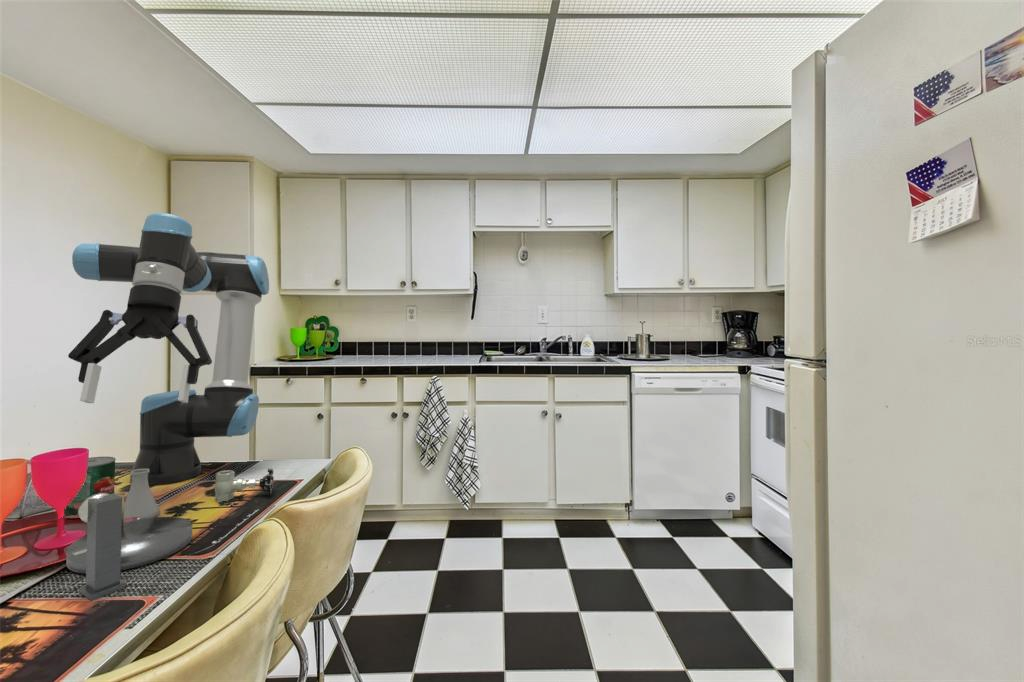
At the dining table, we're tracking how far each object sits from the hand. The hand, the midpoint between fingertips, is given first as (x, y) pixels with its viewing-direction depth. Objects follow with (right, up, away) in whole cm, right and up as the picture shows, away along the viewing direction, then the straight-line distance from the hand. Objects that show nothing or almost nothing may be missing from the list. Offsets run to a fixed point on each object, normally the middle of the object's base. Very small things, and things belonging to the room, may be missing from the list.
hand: (136, 402), depth 76 cm
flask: (-13, -27, +16) cm, 34 cm away
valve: (+1, -28, +28) cm, 40 cm away
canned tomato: (-26, -27, +18) cm, 41 cm away
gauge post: (+4, -27, -10) cm, 29 cm away
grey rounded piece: (-2, -27, +2) cm, 27 cm away
